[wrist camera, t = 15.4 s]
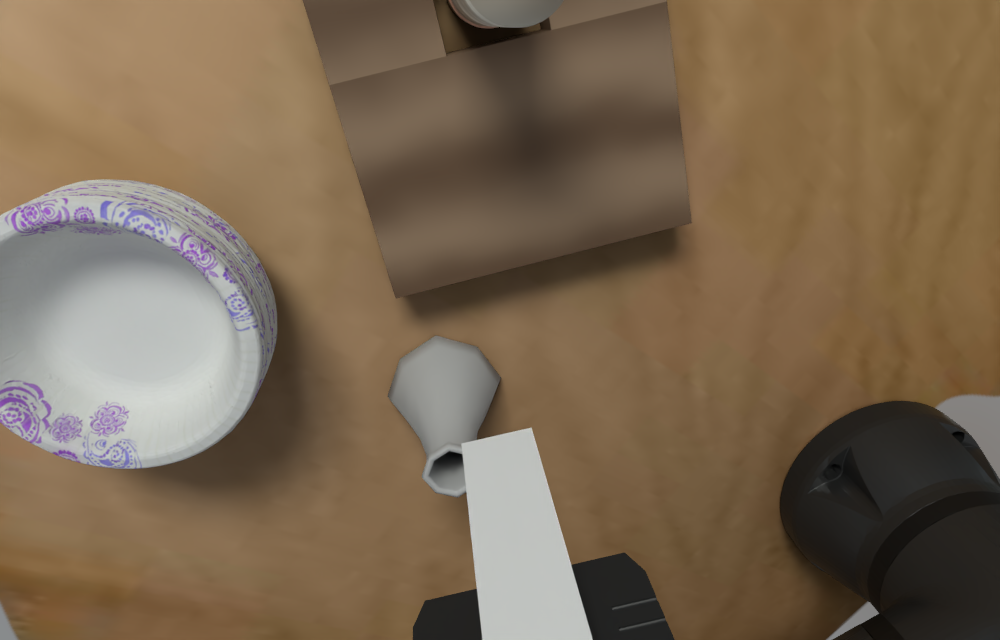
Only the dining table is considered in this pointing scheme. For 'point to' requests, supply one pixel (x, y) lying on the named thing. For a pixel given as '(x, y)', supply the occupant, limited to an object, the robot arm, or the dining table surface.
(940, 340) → the dining table surface
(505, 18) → the peg
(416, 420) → the flask
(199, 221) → the paper bowls
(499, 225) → the board
